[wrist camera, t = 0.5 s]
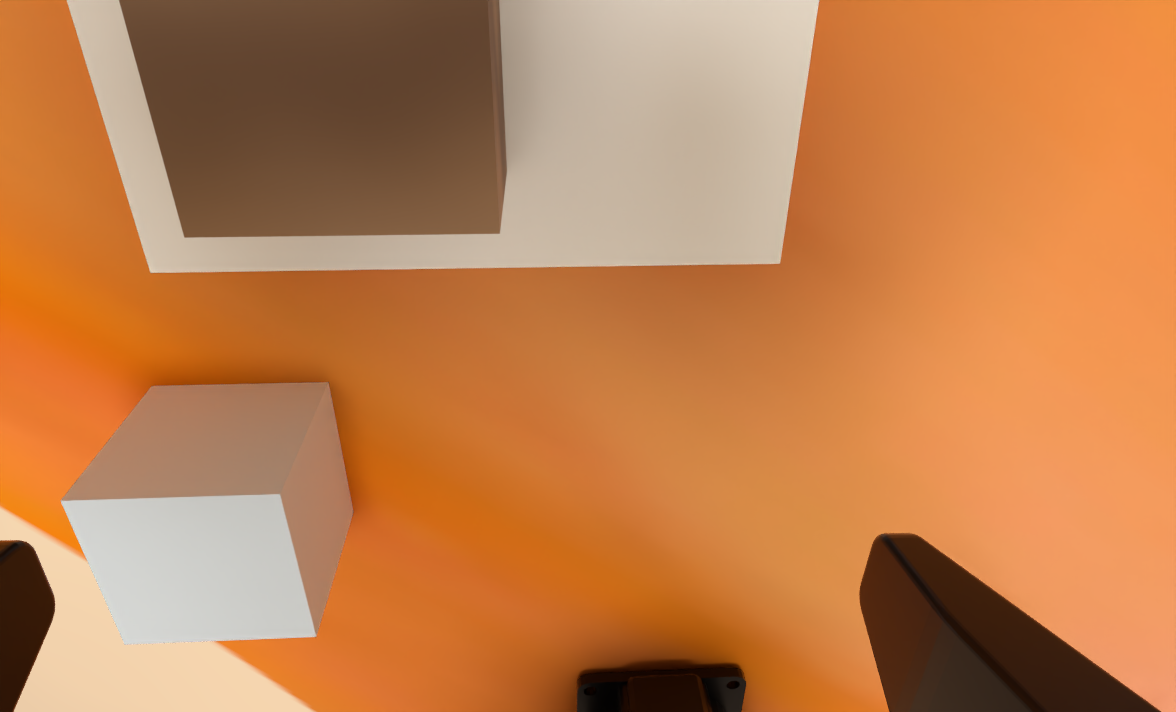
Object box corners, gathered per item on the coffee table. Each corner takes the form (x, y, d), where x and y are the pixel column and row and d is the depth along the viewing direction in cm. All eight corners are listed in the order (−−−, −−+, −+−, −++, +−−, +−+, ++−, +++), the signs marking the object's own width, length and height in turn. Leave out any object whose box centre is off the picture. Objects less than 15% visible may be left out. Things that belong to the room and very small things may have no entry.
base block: (507, 171, 18) (499, 233, 15) (251, 173, 18) (184, 237, 15) (493, -123, 15) (480, -131, 12) (186, -127, 15) (81, -135, 12)
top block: (354, 510, 25) (316, 636, 21) (196, 515, 25) (124, 644, 20) (329, 380, 22) (279, 493, 18) (152, 384, 22) (60, 500, 18)
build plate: (770, 248, 21) (780, 263, 20) (167, 257, 20) (150, 272, 19) (841, -265, 15) (859, -275, 14) (9, -284, 14) (-25, -296, 14)
